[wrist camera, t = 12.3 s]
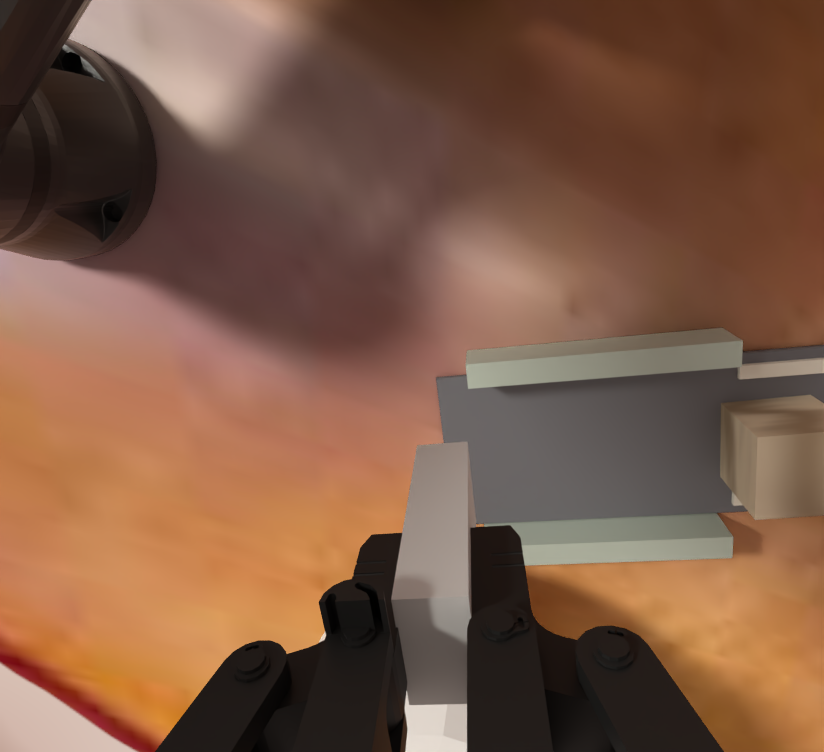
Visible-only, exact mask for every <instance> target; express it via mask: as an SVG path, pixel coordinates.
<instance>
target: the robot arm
mask: <svg viewBox="0 0 824 752" xmlns="http://www.w3.org/2000/svg"><path fill="white" fill-rule="evenodd" d="M90 2H91V0H0V249H3V250H7V251H11V252H15V253H19V254H23V255H27V256H30V257H35V258H39V259H45V260H74V259H79V258H84V257H89V256H94V255H98V254H101V253H104V252H107V251H109V250H111V249H113V248H115V247H117V246H118V245H120V244H121V243H123V242H124V241H125V240H126V239H128V238H129V237H130V236H131V235H132V234H133V233H134V231H135V230H136V229H137V228H138V226H139V225H140V223H141V222H142V220H143V219H144V217H145V215H146V213H147V211H148V209H149V206H150V203H151V200H152V197H153V193H154V188H155V181H156V154H155V147H154V142H153V137H152V133H151V130H150V127H149V124H148V121H147V118H146V116H145V113H144V111H143V109H142V107H141V105H140V103H139V101H138V99H137V98H136V96H135V94H134V93H133V91H132V90H131V88H130V87H129V85H128V84H127V83H126V81H125V80H124V79H123V78H122V77H121V75H120V74H119V73H118V72H117V71H116V70H115V69H114V68H113V67H112V66H111V65H110V64H109V63H108V62H107V61H105V60H104V59H103V58H102V57H100V56H99V55H98V54H96V53H95V52H93V51H92V50H90V49H89V48H87V47H85V46H83V45H81V44H79V43H77V42H75V41H72V40H70V39H68V38H69V36H70V34H71V33H72V31H73V30H74V28H75V26H76V25H77V23H78V21H79V20H80V18H81V17H82V15H83V13H84V12H85V10H86V9H87V7H88V5H89V4H90ZM319 606H320V610H321V615H322V619H323V624H324V628H325V633H326V637H325V640H323V641H321V642H320V643H318V644H316V645H314V646H311V647H309V648H306V649H303V650H299V651H296V652H293V653H289V654H286V651H285V650H284V649H283V647H282V646H281V645H280V644H278V643H275V642H273V641H256V642H252V643H249V644H246V645H244V646H242V647H241V648H239V649H237V650H235V651H234V652H233V653H232V654H231V655H230V656H229V657H228V658H227V659H226V660H225V661H224V662H223V663H222V665H221V666H220V667H219V668H218V670H217V671H216V672H215V674H214V675H213V676H212V678H211V679H210V680H209V682H208V683H207V684H206V686H205V687H204V688H203V689H202V691H201V692H200V693H199V695H198V696H197V697H196V699H195V700H194V701H193V703H192V704H191V705H190V707H189V708H188V709H187V710H186V712H185V713H184V714H183V716H182V717H181V718H180V720H179V721H178V722H177V724H176V725H175V726H174V728H173V729H172V730H171V731H170V733H169V734H168V735H167V737H166V738H165V739H164V741H163V742H162V743H161V745H160V746H159V747H158V749H157V750H156V751H155V752H405V750H406V740H407V730H408V729H407V721H406V715H405V700H406V691H407V694H408V700H409V705H442V704H467V752H724V751H723V750H722V748H721V747H720V746H719V744H718V743H717V741H716V740H715V738H714V737H713V736H712V734H711V733H710V731H709V730H708V729H707V727H706V726H705V724H704V723H703V722H702V720H701V719H700V717H699V716H698V714H697V713H696V712H695V710H694V709H693V707H692V706H691V705H690V703H689V702H688V700H687V699H686V698H685V696H684V695H683V693H682V692H681V690H680V689H679V688H678V686H677V685H676V683H675V682H674V681H673V679H672V678H671V676H670V675H669V674H668V672H667V671H666V669H665V668H664V667H663V665H662V664H661V662H660V661H659V659H658V658H657V657H656V655H655V654H654V652H653V651H652V650H651V648H650V647H649V645H648V644H647V643H646V642H645V641H644V640H643V639H642V638H641V637H640V636H639V635H637V634H635V633H633V632H631V631H629V630H627V629H625V628H620V627H615V626H598V627H595V628H593V629H590V630H588V631H585V633H584V634H583V635H582V636H581V637H580V638H579V639H578V640H574V639H570V638H565V637H562V636H559V635H556V634H553V633H552V632H550V631H548V630H546V629H545V628H543V627H542V626H541V625H540V624H539V623H538V622H537V621H536V619H535V618H534V616H533V613H532V610H531V605H530V598H529V591H528V585H527V578H526V571H525V564H524V557H523V550H522V543H521V537H520V536H519V535H518V534H517V532H516V531H515V530H514V529H513V528H512V526H511V525H504V526H487V527H476V516H475V507H474V498H473V488H472V479H471V470H470V460H469V451H468V442H454V443H442V444H429V445H417V450H416V456H415V462H414V467H413V473H412V479H411V485H410V491H409V497H408V503H407V509H406V515H405V521H404V526H403V532H402V533H393V534H376V535H371V536H370V537H369V539H368V540H367V541H366V542H365V543H364V544H363V545H362V547H361V548H360V551H359V555H358V559H357V565H356V566H355V570H354V576H353V577H352V579H351V580H345V581H343V582H340V583H338V584H336V585H334V586H332V587H331V588H330V589H329V590H327V591H326V592H325V593H324V594H323V596H322V598H321V599H320V601H319Z"/></svg>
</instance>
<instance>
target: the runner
mask: <svg viewBox="0 0 824 752" xmlns="http://www.w3.org/2000/svg"><path fill="white" fill-rule="evenodd" d="M436 381H437V389H438V398H439V406H440V415H441V423H442V431H443V440H444V443H454V442H468V451H469V460H470V470H471V479H472V488H473V498H474V507H475V516H476V524H487V523H509V522H530V521H551V520H573V519H594V518H616V517H637V516H659V515H680V514H701V513H723V512H744V511H747V510H746V508H745V507H744V506H743V505H742V503H741V502H740V501H739V500H738V498H737V497H736V496H735V494H734V493H733V492H732V491H731V489H730V488H729V487H728V486H727V484H726V483H725V482H724V481H723V479H722V478H721V477H720V447H721V403H727V402H738V401H748V400H759V399H770V398H781V397H791V396H802V395H812V396H813V397H815V398H816V399H818V400H819V401H821V402H822V403H824V345H815V346H803V347H791V348H779V349H767V350H755V351H743V352H742V367H735V368H723V369H710V370H698V371H685V372H673V373H660V374H648V375H635V376H623V377H610V378H598V379H586V380H573V381H561V382H548V383H536V384H523V385H511V386H498V387H486V388H473V389H468V382H467V375H457V376H445V377H437V378H436Z"/></svg>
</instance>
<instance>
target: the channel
mask: <svg viewBox="0 0 824 752" xmlns="http://www.w3.org/2000/svg"><path fill="white" fill-rule="evenodd" d="M742 352H743V340H741V339H740V338H738V337H736V336H735V335H733V334H732V333H730V332H728V331H727V330H725V329H724V328H712V329H701V330H690V331H679V332H667V333H656V334H645V335H634V336H623V337H612V338H601V339H590V340H578V341H567V342H556V343H545V344H534V345H523V346H512V347H500V348H489V349H478V350H467V355H466V373H467V382H468V389H473V388H486V387H498V386H511V385H523V384H536V383H548V382H561V381H573V380H586V379H598V378H610V377H623V376H635V375H648V374H660V373H673V372H685V371H698V370H710V369H723V368H735V367H742ZM504 525H511V526H512V528H513V529H514V530H515V531H516V532H517V534H518V535H519V536H520V537H521V543H522V550H523V557H524V564H525V565H553V564H581V563H609V562H636V561H664V560H692V559H720V558H732V555H733V536H732V534H731V533H730V531H729V530H728V529H727V527H726V526H725V524H724V523H723V521H722V520H721V519H720V517H719V516H718V514H717V513H701V514H680V515H659V516H637V517H616V518H594V519H573V520H551V521H530V522H509V523H487V524H484V527H487V526H504Z"/></svg>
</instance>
